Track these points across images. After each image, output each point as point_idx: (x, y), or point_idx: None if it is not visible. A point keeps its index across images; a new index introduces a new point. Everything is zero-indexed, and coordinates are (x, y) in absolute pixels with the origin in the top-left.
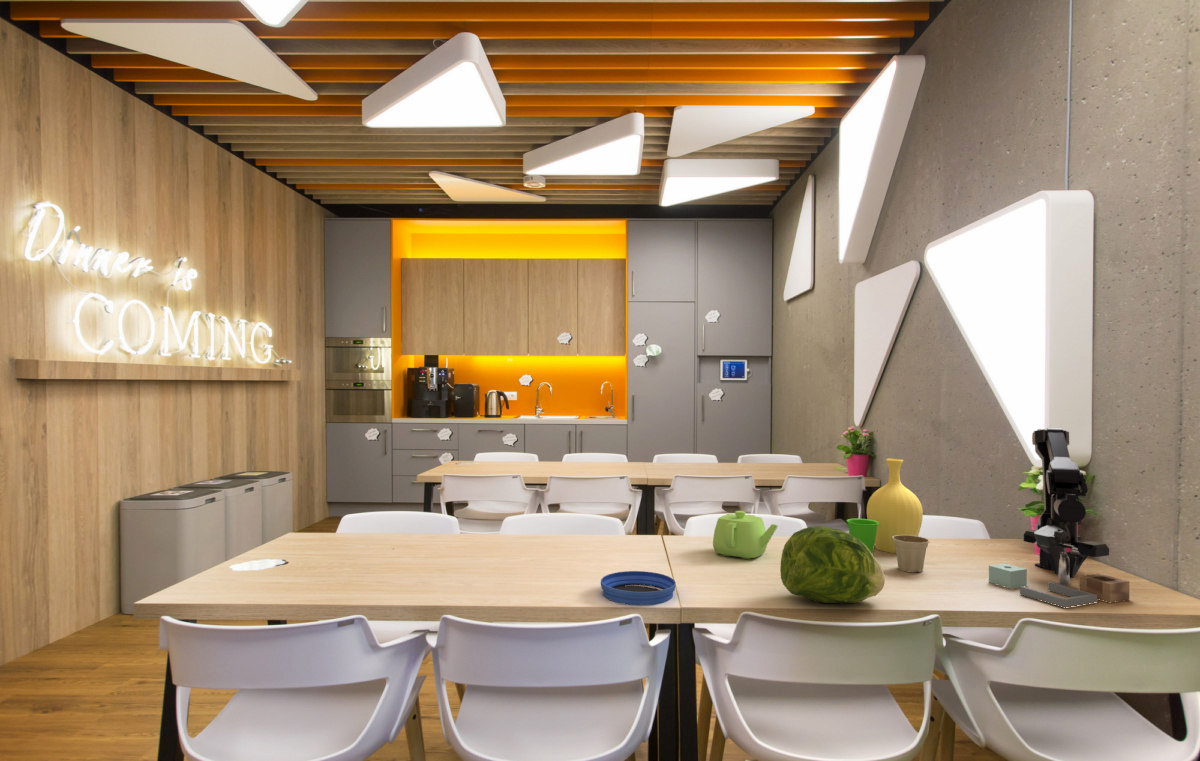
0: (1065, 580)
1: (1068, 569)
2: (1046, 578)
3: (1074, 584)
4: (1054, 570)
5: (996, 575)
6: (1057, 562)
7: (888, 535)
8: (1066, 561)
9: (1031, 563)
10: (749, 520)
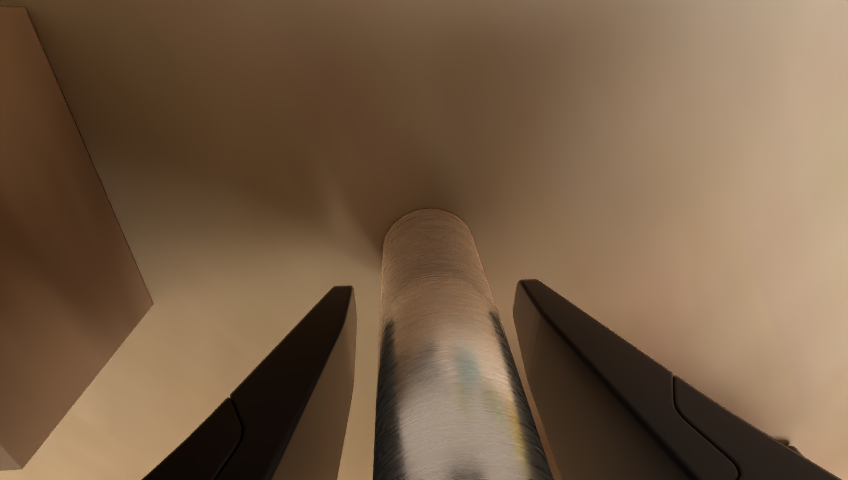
0: (394, 249)
1: (379, 368)
2: (612, 266)
3: None
4: (546, 299)
5: None
6: (571, 425)
7: None
8: (386, 469)
9: (820, 464)
10: None
